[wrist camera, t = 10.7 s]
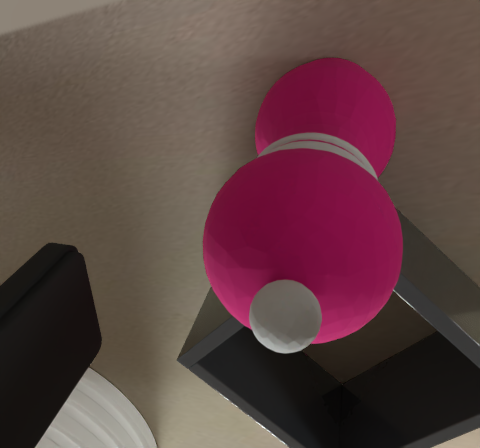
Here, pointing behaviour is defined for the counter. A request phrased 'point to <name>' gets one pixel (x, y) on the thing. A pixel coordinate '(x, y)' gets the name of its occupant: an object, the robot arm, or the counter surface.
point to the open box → (366, 384)
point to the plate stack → (97, 419)
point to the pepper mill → (309, 211)
